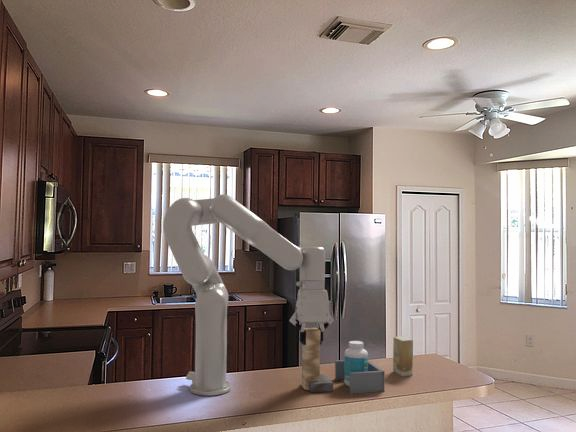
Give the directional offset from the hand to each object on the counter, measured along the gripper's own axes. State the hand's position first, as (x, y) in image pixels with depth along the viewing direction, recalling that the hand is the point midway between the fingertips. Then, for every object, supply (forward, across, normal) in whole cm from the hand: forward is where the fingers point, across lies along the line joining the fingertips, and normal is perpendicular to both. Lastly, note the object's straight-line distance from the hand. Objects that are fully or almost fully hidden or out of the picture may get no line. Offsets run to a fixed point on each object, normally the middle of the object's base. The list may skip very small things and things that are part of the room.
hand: (311, 343), depth 148 cm
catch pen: (+14, +16, 0) cm, 21 cm away
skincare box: (+13, +36, +9) cm, 39 cm away
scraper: (+14, +2, 0) cm, 14 cm away
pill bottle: (+14, +15, 0) cm, 20 cm away
